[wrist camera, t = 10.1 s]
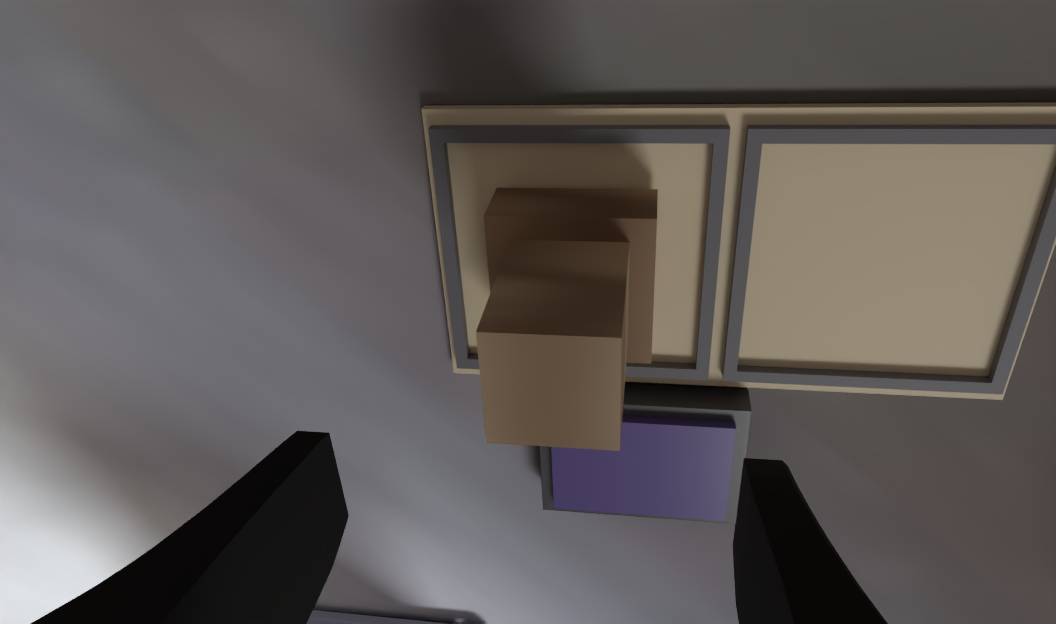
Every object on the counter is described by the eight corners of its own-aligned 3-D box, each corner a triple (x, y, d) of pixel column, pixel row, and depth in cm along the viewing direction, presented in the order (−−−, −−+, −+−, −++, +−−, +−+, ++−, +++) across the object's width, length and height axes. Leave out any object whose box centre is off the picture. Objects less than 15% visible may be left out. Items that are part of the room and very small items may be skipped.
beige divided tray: (456, 367, 24) (451, 379, 23) (424, 105, 19) (418, 113, 19) (998, 392, 21) (1006, 406, 21) (1095, 102, 17) (1109, 110, 17)
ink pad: (547, 487, 26) (541, 516, 24) (541, 379, 23) (535, 406, 22) (734, 500, 25) (737, 531, 24) (747, 389, 22) (752, 418, 21)
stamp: (508, 316, 22) (461, 462, 17) (498, 182, 20) (442, 304, 15) (652, 321, 21) (648, 474, 16) (657, 184, 19) (655, 312, 14)
